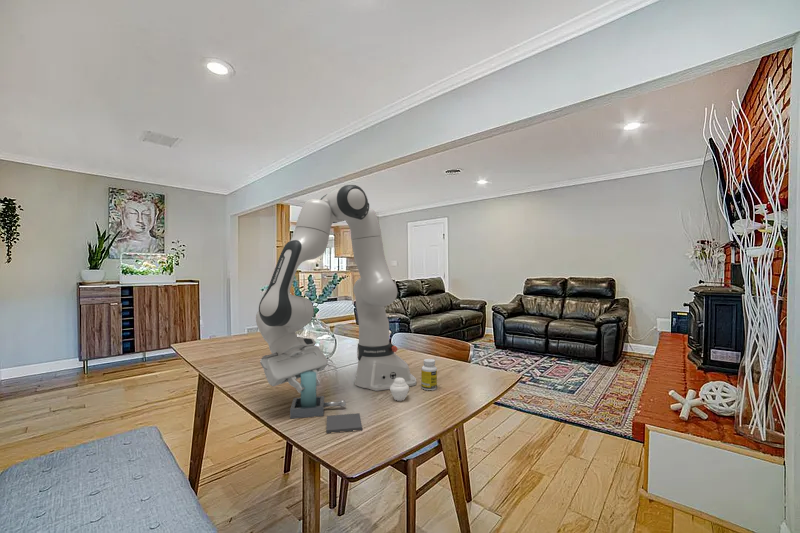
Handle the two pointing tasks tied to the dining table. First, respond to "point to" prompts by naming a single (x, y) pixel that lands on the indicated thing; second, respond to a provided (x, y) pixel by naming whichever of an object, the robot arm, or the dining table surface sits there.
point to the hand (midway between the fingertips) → (310, 388)
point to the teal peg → (308, 389)
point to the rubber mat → (343, 423)
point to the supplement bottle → (429, 375)
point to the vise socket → (312, 411)
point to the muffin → (399, 389)
